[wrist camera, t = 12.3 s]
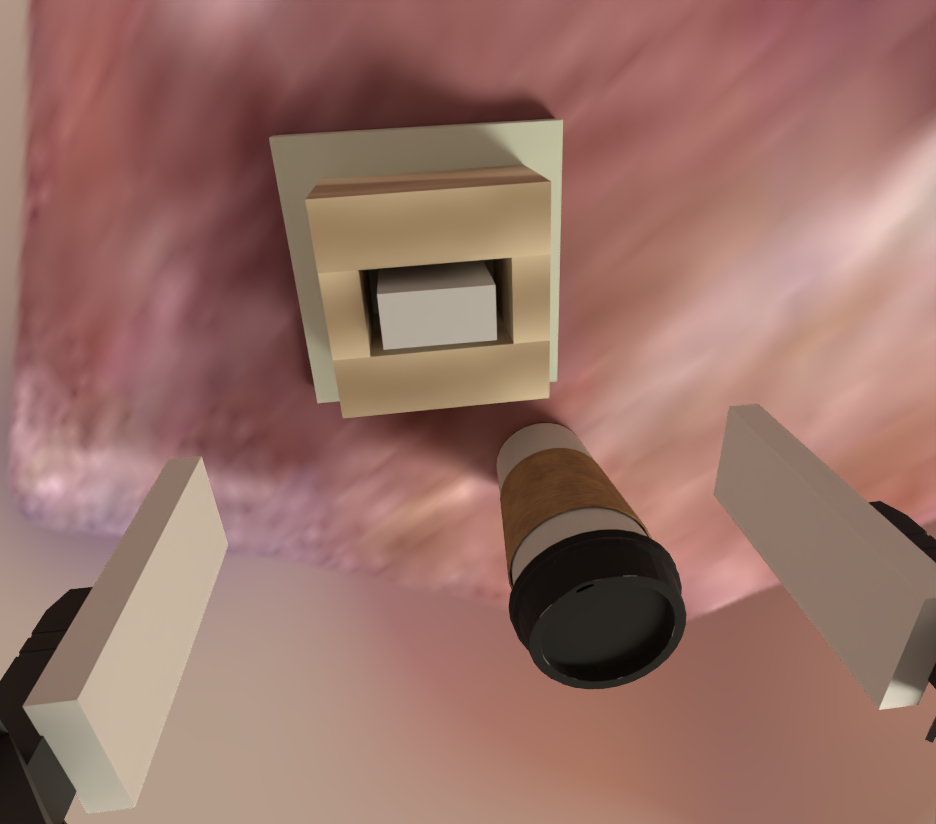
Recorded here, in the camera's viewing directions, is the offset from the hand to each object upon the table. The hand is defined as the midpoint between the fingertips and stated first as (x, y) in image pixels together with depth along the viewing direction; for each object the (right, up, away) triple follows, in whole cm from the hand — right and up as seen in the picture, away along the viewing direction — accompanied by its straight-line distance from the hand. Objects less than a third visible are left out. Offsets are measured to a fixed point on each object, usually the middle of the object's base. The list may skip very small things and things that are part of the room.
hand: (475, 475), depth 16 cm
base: (-2, +10, +18) cm, 21 cm away
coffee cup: (+5, -2, +25) cm, 26 cm away
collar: (-2, +9, +17) cm, 19 cm away
